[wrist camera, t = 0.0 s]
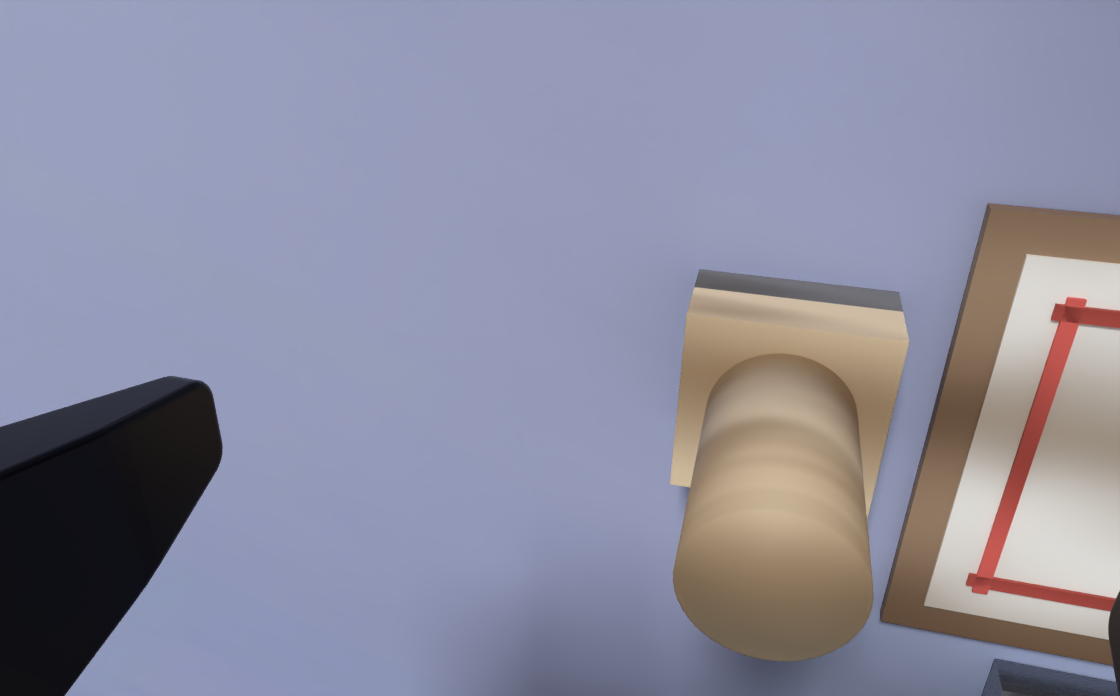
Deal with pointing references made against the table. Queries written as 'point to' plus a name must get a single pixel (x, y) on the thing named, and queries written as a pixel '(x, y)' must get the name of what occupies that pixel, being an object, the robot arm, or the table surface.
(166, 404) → the robot arm
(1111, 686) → the dark grey flat block
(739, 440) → the stamp
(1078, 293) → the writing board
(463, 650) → the table surface
